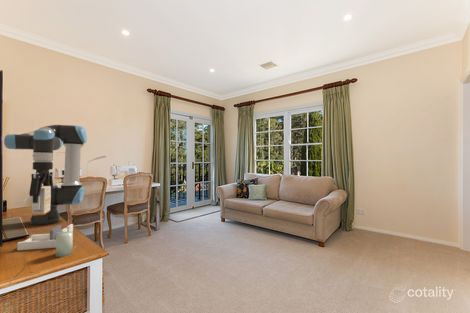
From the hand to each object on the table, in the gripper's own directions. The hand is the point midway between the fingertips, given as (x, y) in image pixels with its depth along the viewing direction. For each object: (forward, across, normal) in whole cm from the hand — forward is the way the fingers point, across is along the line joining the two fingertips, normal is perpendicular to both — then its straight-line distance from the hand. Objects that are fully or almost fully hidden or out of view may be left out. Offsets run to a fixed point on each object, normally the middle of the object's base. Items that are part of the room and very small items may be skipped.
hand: (41, 207), depth 111 cm
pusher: (+17, 0, +9) cm, 19 cm away
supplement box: (+3, 0, 0) cm, 3 cm away
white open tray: (+18, 0, +2) cm, 19 cm away
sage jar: (+18, +14, +16) cm, 28 cm away
